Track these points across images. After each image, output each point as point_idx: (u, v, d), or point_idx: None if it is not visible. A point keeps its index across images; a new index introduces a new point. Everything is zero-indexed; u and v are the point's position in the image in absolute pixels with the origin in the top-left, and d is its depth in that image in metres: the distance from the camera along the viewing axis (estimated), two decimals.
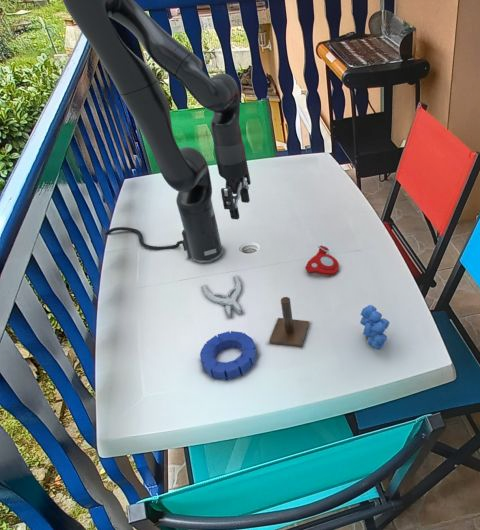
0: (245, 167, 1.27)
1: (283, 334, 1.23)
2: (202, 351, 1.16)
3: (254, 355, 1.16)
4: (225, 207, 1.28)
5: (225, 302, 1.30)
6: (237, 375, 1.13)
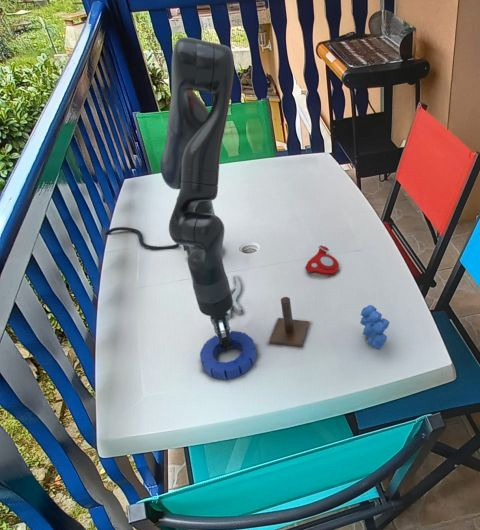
0: (231, 296, 1.12)
1: (283, 334, 1.23)
2: (202, 351, 1.16)
3: (254, 355, 1.16)
4: (222, 343, 1.14)
5: None
6: (237, 375, 1.13)
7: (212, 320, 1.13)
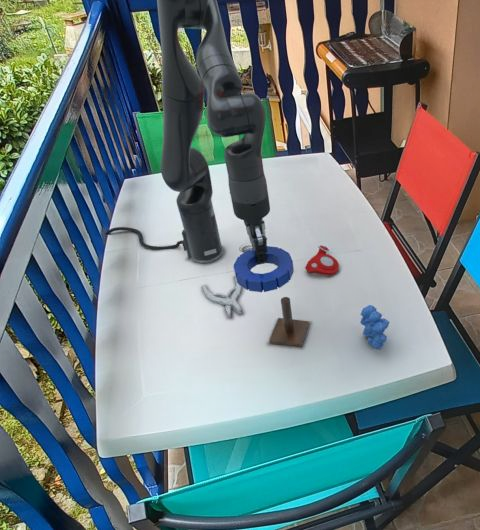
0: None
1: (283, 334, 1.23)
2: (236, 263, 1.07)
3: (291, 269, 1.08)
4: (257, 253, 1.06)
5: (225, 302, 1.30)
6: (274, 287, 1.05)
7: (248, 227, 1.04)
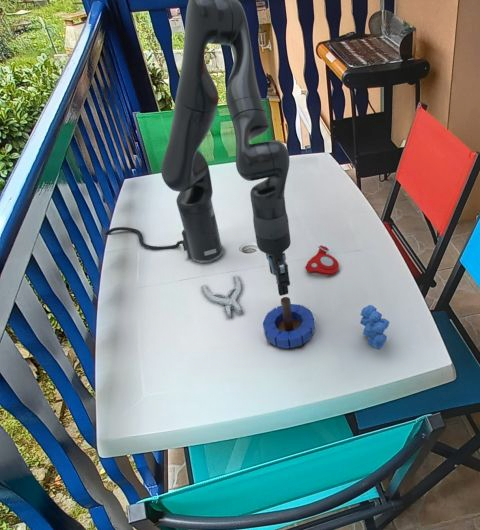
0: None
1: None
2: (264, 321, 1.22)
3: (313, 325, 1.23)
4: (281, 285, 1.11)
5: (225, 302, 1.30)
6: (299, 343, 1.20)
7: (269, 258, 1.12)
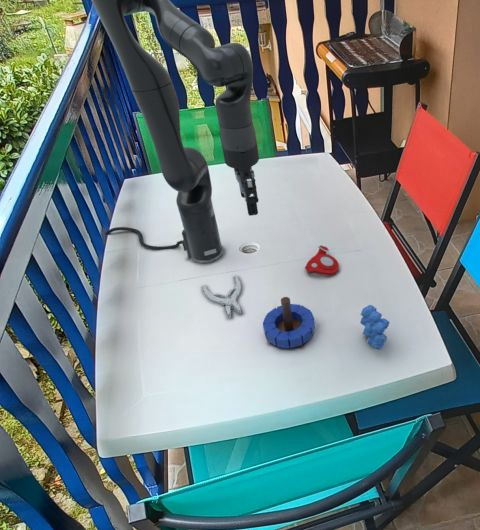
0: None
1: None
2: (264, 321, 1.22)
3: (313, 325, 1.23)
4: (249, 201, 1.10)
5: (225, 302, 1.30)
6: (299, 343, 1.20)
7: (238, 175, 1.11)
